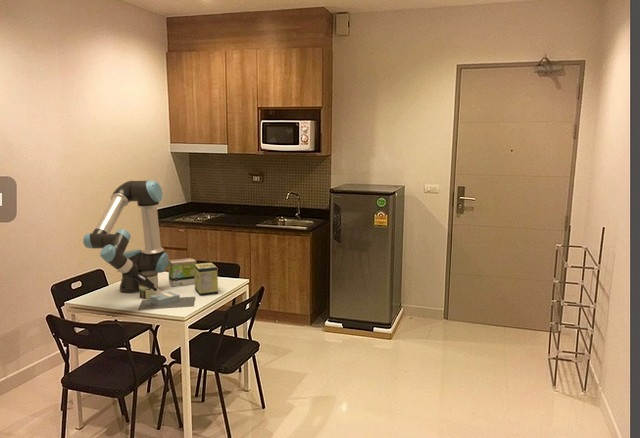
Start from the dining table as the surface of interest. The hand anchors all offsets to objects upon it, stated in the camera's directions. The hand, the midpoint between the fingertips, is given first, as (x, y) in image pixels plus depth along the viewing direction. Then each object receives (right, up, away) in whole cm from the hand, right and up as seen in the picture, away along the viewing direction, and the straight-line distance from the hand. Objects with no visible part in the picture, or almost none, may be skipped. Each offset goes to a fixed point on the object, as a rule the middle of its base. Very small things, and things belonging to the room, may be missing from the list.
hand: (159, 293), depth 265 cm
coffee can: (-10, -5, +13) cm, 17 cm away
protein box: (+19, -3, +25) cm, 31 cm away
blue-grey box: (-2, -4, -2) cm, 5 cm away
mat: (+4, -6, +1) cm, 7 cm away
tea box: (+1, -1, +42) cm, 42 cm away
